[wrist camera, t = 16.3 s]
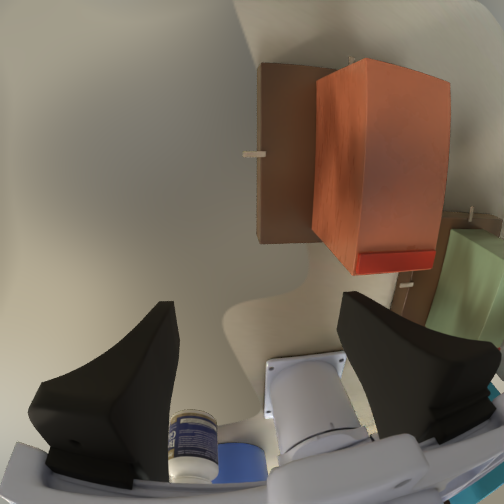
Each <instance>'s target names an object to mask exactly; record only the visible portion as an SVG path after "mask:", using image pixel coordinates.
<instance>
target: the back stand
mask: <svg viewBox="0 0 504 504" xmlns="http://www.w3.org/2000/svg"><path fill="white" fill-rule="evenodd" d="M473 210H474V207H473V206H471V208H470V213H466V212H449V211H442V217H441V223H440V228H439V234H438V239H437V244H436V249H435V251H436V254H435V259H434V263H433V267H432V268H431V269H429V270H418V271H406V272H399V276H398V280H397V285H396V289H395V293H394V297H393V301H392V305H391V309H390V310H391V311H393V312H395V313H396V314H398V315H400V316H402V317H404V318H406V319H408V320H410V321H412V322H414V323H417V324H419V325H422V326H424V327H426V326H425V324H426V321H427V318H428V315H429V312H430V309H431V306H432V303H433V299H434V296H435V293H436V289H437V286H438V282H439V278H440V275H441V271H442V267H443V263H444V259H445V255H446V250H447V246H448V241H449V236H450V231H451V229H484V230H486V231H488V232H490V233H492V234H493V235H495V236H497V237H499V236H500V231H501V226H502V221H503V220H502V219H500V218H498V217H496V216H494V215H491V214H481V213H473Z"/></svg>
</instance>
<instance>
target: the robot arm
mask: <svg viewBox="0 0 504 504" xmlns="http://www.w3.org/2000/svg"><path fill="white" fill-rule="evenodd" d="M337 333H338V336H339V339H340V342H341V344H342V347H343V349H344V351H338V352H331V353H323V354H315V355H307V356H297V357H288V358H277V359H269V360H268V361H267V362H266V377H265V398H264V418H266V419H272V418H273V419H274V424H275V430H276V435H277V440H278V445H279V450H280V455H278V456H277V458H278V463H279V467H274V468H272V469H271V471H270V474H269V475H268V477H267V481H258V482H245V483H225V484H189V483H169V466H168V434H169V432H168V431H169V411H170V403H171V397H172V392H173V386H174V381H175V376H176V371H177V366H178V359H179V346H180V338H179V332H178V326H177V320H176V314H175V307H174V301H160V302H158V303H157V304H156V306H155V307H154V308H153V309H152V310H151V311H150V312H149V313H148V314H147V315H146V316H145V317H144V318H143V320H142V321H141V322H140V323H139V324H138V325H137V326H136V327H135V328H134V329H133V330H132V331H130V332H129V333H128V334H127V335H126V336H125V337H124V338H123V339H122V340H121V341H119V342H118V343H117V344H116V345H115V346H113V347H112V348H110V349H109V350H108V351H106V352H105V353H104V354H102V355H101V356H99V357H97V358H96V359H94V360H92V361H91V362H89V363H87V364H86V365H84V366H82V367H80V368H78V369H76V370H74V371H71V372H70V373H67V374H65V375H63V376H59V377H57V378H54V379H51V380H48V381H45V382H42V383H41V385H40V387H39V389H38V391H37V393H36V395H35V397H34V399H33V401H32V403H31V405H30V407H29V409H28V415H29V418H30V421H31V422H32V424H33V425H34V427H35V428H36V430H37V431H38V432H39V433H40V434H41V436H42V437H43V438H44V440H45V441H46V442H47V443H48V444H49V445H50V450H49V453H48V454H47V453H46V452H45V451H43V450H41V449H39V448H35V447H33V446H30V445H27V444H24V443H21V442H16V445H15V447H14V450H13V452H12V454H11V457H10V460H9V462H8V465H7V468H6V471H5V474H4V476H3V479H2V482H1V485H0V496H1V497H2V498H4V499H5V500H6V501H8V502H9V503H11V504H444V503H443V502H445V501H446V500H448V499H450V498H451V497H453V496H455V495H456V494H458V493H459V492H461V491H462V490H464V489H465V488H467V487H469V486H470V485H472V484H473V483H474V482H476V481H477V480H479V479H480V478H482V477H483V476H484V475H486V474H487V473H489V472H490V471H491V470H493V469H494V468H495V467H497V466H498V465H499V464H501V463H502V462H503V461H504V393H502V394H500V395H499V396H497V397H496V398H495V399H494V400H493V401H492V402H491V401H490V399H489V398H488V397H489V396H490V394H491V392H490V391H489V389H488V388H487V387H488V385H489V383H490V382H491V380H492V378H493V377H494V375H495V373H496V372H497V370H498V368H499V366H500V363H501V359H502V353H501V352H500V350H499V349H498V348H497V347H496V346H495V345H494V344H493V343H492V342H490V341H480V340H471V339H466V338H461V337H456V336H452V335H448V334H444V333H441V332H438V331H435V330H432V329H429V328H426V327H424V326H422V325H419V324H417V323H414V322H412V321H410V320H408V319H406V318H404V317H402V316H400V315H398V314H396V313H395V312H393V311H391V310H389V309H387V308H386V307H384V306H382V305H381V304H379V303H377V302H375V301H374V300H372V299H370V298H368V297H367V296H365V295H363V294H361V293H359V292H357V291H351V292H343V297H342V303H341V309H340V315H339V320H338V325H337ZM346 357H348V359H349V361H350V363H351V365H352V367H353V369H354V371H355V373H356V374H357V376H358V378H359V380H360V382H361V384H362V386H363V388H364V391H365V393H366V396H367V399H368V402H369V404H370V407H371V410H372V414H373V417H374V420H375V423H376V427H377V431H378V433H376V432H375V433H373V434H371V435H368V432H367V430H366V428H365V426H362V427H361V425H360V422H359V420H358V418H357V416H356V413H355V411H354V409H353V406H352V404H351V402H350V400H349V397H348V395H347V393H346V391H345V388H344V386H343V384H342V382H341V376H342V372H343V369H344V365H345V361H346ZM340 359H341V360H340ZM270 367H273V368H270Z"/></svg>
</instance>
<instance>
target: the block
mask: <svg viewBox="0 0 504 504" xmlns="http://www.w3.org/2000/svg"><path fill="white" fill-rule="evenodd" d="M487 388H488V389H489V391H490V392H491V394H490V396H489V397H488V398H489V399H490V401H491V402H492V401H493V400H494V399H495V398H496V397H497V396H499V395H500V392H499V391H498V390H497V389H496V388H495V386H494V385H493V384H492V383H491V382H490V383H489V385H488V387H487ZM503 483H504V461H503V462H502V463H501V464H499V465H498V466H497V467H495V468H494V469H493V470H491V471H490V472H489V473H487V474H486V475H484V476H483V477H482V478H480V479H479V480H477V481H476V482H474V483H473V484H472V485H470V486H469V487H467V488H465V489H464V490H462V491H461V492H459V493H458V494H456V495H455V496H453V497H451V498H450V499H449V501H450V503H451V504H476V503H478V502H479V501H481V500H482V499H483V498H485V497H486V496H488V495H489V494H491V493H492V492H493V491H495V490H496V489H497V488H499V487H500V486H501V485H502V484H503Z"/></svg>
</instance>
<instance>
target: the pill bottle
mask: <svg viewBox="0 0 504 504" xmlns="http://www.w3.org/2000/svg"><path fill="white" fill-rule="evenodd" d="M168 466H169V474H170V475H171V476H172V477H173V479H172V483H189V484H212V482H211V481H212V480H213V479H215V478H216V477H217V475H218V472H219V467H218V441H217V422H216V420H215V419H214V417H213V416H212V415H210V414H209V413H206V412H204V411H200V410H182V411H179V412H177V413H175V414H174V415H173V416H172V418H171V421H170V429H169V438H168Z"/></svg>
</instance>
